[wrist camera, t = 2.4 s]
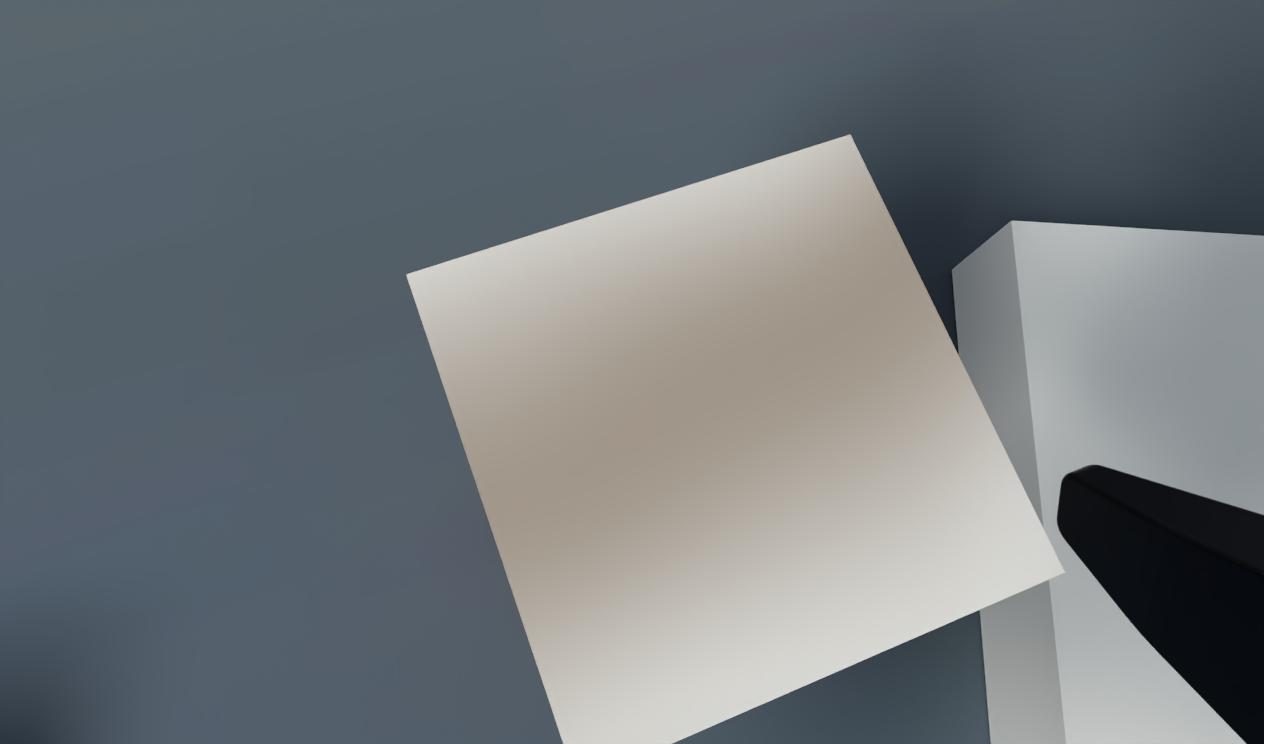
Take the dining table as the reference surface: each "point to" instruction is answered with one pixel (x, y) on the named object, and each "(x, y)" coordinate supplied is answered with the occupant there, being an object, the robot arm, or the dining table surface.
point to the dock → (1109, 446)
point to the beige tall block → (723, 445)
